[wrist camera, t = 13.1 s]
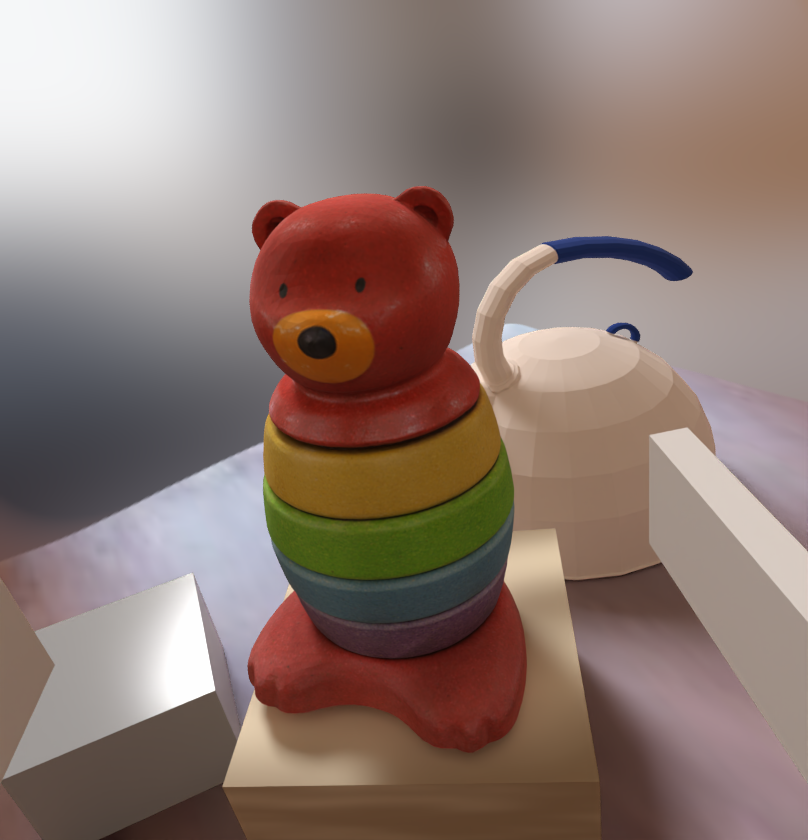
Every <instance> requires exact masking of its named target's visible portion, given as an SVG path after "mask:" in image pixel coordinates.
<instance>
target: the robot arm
mask: <svg viewBox="0 0 808 840" xmlns="http://www.w3.org/2000/svg"><path fill="white" fill-rule="evenodd" d="M649 544H650V545H651V547H652V548H653V550H654V551H655V553H656V554H657V556H658V557H659V559H660V560H661V562H662V563H663V565H664V567H665V568H666V570H667V571H668V573H669V574H670V576H671V577H672V579H673V580H674V582H675V583H676V585H677V586H678V588H679V589H680V591H681V592H682V594H683V595H684V597H685V598H686V600H687V601H688V603H689V604H690V606H691V607H692V609H693V611H694V612H695V614H696V615H697V617H698V618H699V620H700V621H701V623H702V624H703V626H704V627H705V629H706V630H707V632H708V633H709V635H710V636H711V638H712V639H713V641H714V642H715V644H716V645H717V647H718V648H719V650H720V652H721V653H722V655H723V656H724V658H725V659H726V661H727V662H728V664H729V665H730V667H731V668H732V670H733V671H734V673H735V674H736V676H737V677H738V679H739V680H740V682H741V683H742V685H743V686H744V688H745V689H746V691H747V692H748V694H749V696H750V697H751V699H752V700H753V702H754V703H755V705H756V706H757V708H758V709H759V711H760V712H761V714H762V715H763V717H764V718H765V720H766V721H767V723H768V724H769V726H770V727H771V729H772V730H773V732H774V733H775V735H776V736H777V738H778V740H779V741H780V743H781V744H782V746H783V747H784V749H785V750H786V752H787V753H788V755H789V756H790V758H791V759H792V761H793V762H794V764H795V765H796V767H797V768H798V770H799V771H800V773H801V774H802V776H803V777H804V779H805V780H806V782H807V784H808V551H807V550H806V549H805V548H804V547H803V546H802V545H801V544H800V543H799V542H798V541H797V540H796V539H795V538H794V537H793V536H792V535H791V534H790V533H789V532H788V531H787V529H786V528H785V527H784V526H783V525H782V524H781V523H780V522H779V521H778V520H777V519H776V518H775V517H774V516H773V515H772V514H771V513H770V512H769V511H768V510H767V509H766V508H765V507H764V506H763V505H762V504H761V503H760V502H759V501H758V500H757V499H756V498H755V497H754V495H753V494H752V493H751V492H750V491H749V490H748V489H747V488H746V487H745V486H744V485H743V484H742V483H741V482H740V481H739V480H738V479H737V478H736V477H735V476H734V475H733V474H732V473H731V472H730V471H729V470H728V469H727V468H726V467H725V466H724V465H723V464H722V463H721V461H720V460H719V459H718V458H717V457H716V456H715V455H714V454H713V453H712V452H711V451H710V450H709V449H708V448H707V447H706V446H705V445H704V444H703V443H702V442H701V441H700V440H699V439H698V438H697V437H696V436H695V435H694V434H693V433H692V432H691V431H690V430H689V429H688V428H682V429H677V430H672V431H667V432H662V433H657V434H652V435H649ZM54 666H55V664H54V663H53V661H52V659H51V658H50V656H49V655H48V653H47V651H46V650H45V648H44V647H43V645H42V643H41V642H40V640H39V639H38V637H37V635H36V634H35V632H34V631H33V629H32V627H31V626H30V624H29V623H28V621H27V619H26V618H25V616H24V614H23V613H22V611H21V610H20V608H19V606H18V605H17V603H16V602H15V600H14V598H13V597H12V595H11V594H10V592H9V590H8V589H7V587H6V586H5V584H4V582H3V581H2V579H1V578H0V784H1V782H2V780H3V777H4V775H5V773H6V771H7V769H8V766H9V764H10V762H11V760H12V758H13V755H14V753H15V751H16V749H17V747H18V744H19V742H20V740H21V738H22V736H23V734H24V731H25V729H26V727H27V725H28V723H29V720H30V718H31V716H32V714H33V712H34V709H35V707H36V705H37V703H38V701H39V698H40V696H41V694H42V692H43V690H44V687H45V685H46V683H47V681H48V679H49V677H50V674H51V672H52V670H53V668H54Z"/></svg>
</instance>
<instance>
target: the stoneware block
mask: <svg viewBox="0 0 808 840" xmlns="http://www.w3.org/2000/svg"><path fill="white" fill-rule="evenodd" d="M35 634H36V635H37V637H38V639H39V640H40V642H41V643H42V645H43V647H44V648H45V650H46V651H47V653H48V655H49V656H50V658H51V659H52V661H53V663H54V664H55V666H54V668H53V670H52V672H51V674H50V677H49V679H48V681H47V683H46V685H45V687H44V690H43V692H42V694H41V696H40V698H39V701H38V703H37V705H36V707H35V709H34V712H33V714H32V716H31V718H30V720H29V723H28V725H27V727H26V729H25V731H24V734H23V736H22V738H21V740H20V742H19V744H18V747H17V749H16V751H15V753H14V755H13V758H12V760H11V762H10V764H9V766H8V769H7V771H6V773H5V775H4V777H3V780H2V782H1V783H2V785H3V786H4V788H5V789H6V790H7V792H8V793H9V794H10V796H11V797H12V799H13V800H14V801H15V803H16V804H17V805H18V807H19V808H20V809H21V811H22V812H23V814H24V815H25V816H26V818H27V819H28V820H29V822H30V823H31V825H32V826H33V827H34V829H35V830H36V831H37V833H38V834H39V835H40V837H41V838H42V840H99V839H101V838H103V837H106V836H108V835H110V834H112V833H114V832H117V831H119V830H121V829H123V828H125V827H127V826H130V825H132V824H134V823H136V822H138V821H141V820H143V819H145V818H147V817H149V816H151V815H154V814H156V813H158V812H160V811H162V810H165V809H167V808H169V807H171V806H173V805H175V804H178V803H180V802H182V801H184V800H186V799H189V798H191V797H193V796H195V795H197V794H199V793H202V792H204V791H206V790H208V789H210V788H213V787H215V786H217V785H219V784H221V783H223V782H224V780H225V777H226V774H227V771H228V768H229V765H230V762H231V759H232V756H233V753H234V750H235V747H236V744H237V741H238V738H239V735H240V732H241V727H240V723H239V718H238V714H237V709H236V704H235V700H234V695H233V691H232V686H231V681H230V677H229V672H228V668H227V663H226V659H225V654H224V649H223V645H222V643H221V640H220V638H219V635H218V633H217V630H216V628H215V626H214V623H213V621H212V618H211V616H210V613H209V611H208V608H207V606H206V603H205V601H204V598H203V596H202V593H201V591H200V589H199V586H198V584H197V581H196V579H195V576H194V574H193V573H191V574H188V575H185V576H183V577H180V578H177V579H175V580H172V581H169V582H167V583H164V584H161V585H158V586H156V587H153V588H150V589H148V590H145V591H142V592H140V593H137V594H134V595H132V596H129V597H126V598H123V599H121V600H118V601H115V602H113V603H110V604H107V605H105V606H102V607H99V608H97V609H94V610H91V611H88V612H86V613H83V614H80V615H78V616H75V617H72V618H70V619H67V620H64V621H61V622H59V623H56V624H53V625H51V626H48V627H45V628H43V629H40V630H37V631H35Z"/></svg>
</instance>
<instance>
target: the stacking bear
mask: <svg viewBox="0 0 808 840" xmlns="http://www.w3.org/2000/svg"><path fill="white" fill-rule="evenodd" d="M453 221H454V217H453V213H452V210H451V206H450V204H449V203H448V201H447V199H446V198H445V197H444V196H443V195H442V194H441V193H440V192H438V191H436V190H435V189H433V188H430V187H427V186H418V187H412V188H409V189H407V190H405V191H404V192H403V193H401V194H400V195H399V196H398V197H396V198H394V197H391V196H386V195H380V194H351V195H345V196H338V197H333V198H328V199H325V200H322V201H318V202H315V203H312V204H309V205H307V206H304V207H299V206H297V205H295V204H293V203H291V202H288V201H284V200H275V201H270V202H268V203H266V204H265V205H263V206H262V207H261V209H260V210H259V211H258V213H257V214H256V216H255V218H254V220H253V224H252V233H253V237H254V240H255V242H256V244H257V245H258V247H259V249H260V253H259V255H258V258H257V259H256V262H255V266H254V270H253V273H252V278H251V284H250V311H251V318H252V323H253V326H254V329H255V332H256V334H257V336H258V338H259V340H260V342H261V344H262V345H263V347H264V349H265V350H266V352H267V353H268V354H269V356H270V357H271V359H272V360H273V361H274V362H275V363H276V365H277V366H278V367H279V368H280V369H281V370H282V371H283V372H284V373H285V375H284V377H283V378H282V379H281V380H280V382H279V383H278V385H277V387H276V389H275V391H274V393H273V395H272V398H271V400H270V405H269V414H268V416H267V419H266V423H265V430H264V453H263V459H264V473H265V475H264V479H263V495H264V506H265V515H266V522H267V528H268V531H269V534H270V537H271V541H272V545H273V549H274V551H275V554H276V556H277V558H278V561H279V563H280V565H281V568H282V570H283V572H284V574H285V576H286V578H287V580H288V582H289V584H290V585H291V587H292V589H293V590H294V591H293V592H292V593H291V594H290V595H289V596H288V597H287V598H286V599H285V601H284V602H283V603H282V604H281V605H280V606H279V608H278V609H277V610H276V611H275V613H274V614H273V615H272V617H271V618H270V619H269V621H268V622H267V624H266V625H265V627H264V628H263V630H262V631H261V633H260V635H259V637H258V638H257V640H256V642H255V644H254V646H253V648H252V650H251V653H250V657H249V660H248V675H249V679H250V682H251V683H252V685H253V686H254V687H255V695H256V698H257V699H258V701H260V702H261V703H262V704H264V705H267V706H271V707H276V708H278V709H279V710H280V711H282V712H285V713H293V714H297V713H306V712H310V711H314V710H318V709H322V708H326V707H331V706H338V705H361V706H367V707H372V708H375V709H379V710H382V711H385V712H387V713H390V714H392V715H394V716H396V717H398V718H399V719H400V720H402V721H403V722H404V723H405V724H406V725H408V726H409V727H410V728H411V729H412V730H413V731H414V732H415V733H416V734H417V735H418V736H419V737H420V738H421V739H422V740H423V741H425V742H427V743H428V744H430V745H432V746H434V747H438V748H449V749H458V750H460V751H463V752H467V753H473V752H475V751H477V750H479V749H481V748H483V747H484V746H485V745H487V744H488V743H490V742H494V741H497V740H499V739H501V738H503V737H504V736H505V735H506V734H507V733H508V732H509V731H510V730H511V729H512V727H513V726H514V724H515V722H516V720H517V717H518V714H519V711H520V707H521V704H522V701H523V696H524V690H525V685H526V673H527V654H526V644H525V636H524V630H523V625H522V621H521V617H520V614H519V611H518V608H517V606H516V603H515V601H514V598H513V596H512V594H511V592H510V590H509V588H508V587H507V585H506V583H505V582H504V577H505V572H506V567H507V561H508V554H509V551H510V546H511V540H512V532H513V523H514V484H513V478H512V472H511V467H510V463H509V459H508V455H507V451H506V448H505V444H504V442H503V440H502V438H501V436H500V431H499V427H498V423H497V420H496V417H495V414H494V411H493V408H492V405H491V403H490V400H489V398H488V395H487V393H486V391H485V389H484V388H483V386H482V385H481V383H480V380H479V378H478V376H477V374H476V372H475V371H474V369H473V368H472V367H471V366H470V365H469V364H468V363H467V361H466V360H464V359H463V358H462V357H461V356H460V355H459V354H458V353H456V352H455V351H453V350H451V349H450V348H447V347H448V345H449V343H450V340H451V337H452V334H453V330H454V326H455V322H456V318H457V313H458V307H459V276H458V267H457V263H456V259H455V256H454V253H453V251H452V248H451V246H450V245H449V242H448V240H449V236H450V233H451V231H452V228H453V223H454V222H453Z"/></svg>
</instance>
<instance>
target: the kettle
mask: <svg viewBox="0 0 808 840" xmlns="http://www.w3.org/2000/svg"><path fill="white" fill-rule="evenodd" d="M582 258H615V259H623V260H628V261H632V262H635V263H639V264H642V265H645V266H648V267H649V268H651V269H653V270H655V271H657V272H658V273H659V274H661V275H662V276H663V277H664V278H665V279H667V280H670V281H679V280H683V279H686V278H688V277H689V276H691V274H692V273H693V271H692V269H691V268H690V267H689V266H687V264H686V263H684V262H683V261H682V260H681V259H680V258H678V257H677V256H674V255H673V254H671V253H669V252H667V251H665V250H663V249H662V248H660V247H657V246H654V245H651V244H647V243H644V242H641V241H638V240H632V239H624V238H617V237H608V236H602V237H573V238H568V239H562V240H557V241H551V242H545V243H542V244H540V245H539V246H538V247H535V248H534V249H532V250H530V251H528V252H526V253H524V254H522V255H520V256H518V257H516V258H515V259H513V260H511V261H510V262H509V263H508V265H507V266H506V267H505V268H504V269H503V270H502V271H501V272H500V273H499V274H498V276H497V277H496V278H495V279H494V280H493V281H492V282H491V283H490V285H489V287H488V289H487V291H486V293H485V295H484V298H483V300H482V302H481V303H480V305H479V307H478V310H477V314H476V320H475V325H474V330H473V335H472V340H473V349H474V357H475V362H474V363H473V364H472V365H470V366H471V367H472V368H473V369H474V371H475V372H476V374H477V376H478V378H479V380H480V383H481V385H482V386H483V388H484V389H485V391H486V393H487V395H488V398H489V400H490V403H491V405H492V408H493V411H494V414H495V417H496V420H497V423H498V427H499V431H500V436H501V438H502V440H503V442H504V444H505V448H506V451H507V455H508V459H509V463H510V467H511V472H512V478H513V484H514V523H513V531H524V530H539V529H553V528H555V530H556V535H557V541H558V547H559V552H560V558H561V564H562V569H563V575H564V579H566V580H584V579H593V578H602V577H611V576H620V575H624V574H627V573H630V572H633V571H636V570H639V569H643V568H646V567H649V566H652V565H655V564H658V563H661V560H660V559H659V557H658V556H657V554H656V553H655V551H654V550H653V548H652V547H651V545H650V544H649V435H652V434H657V433H662V432H667V431H672V430H677V429H682V428H688V429H689V430H690V431H691V432H692V433H693V434H694V435H695V436H696V437H697V438H698V439H699V440H700V441H701V442H702V443H703V444H704V445H705V446H706V447H707V448H708V449H709V450H710V451H711V452H712V453H713V454H714V455H715V456H716V453H715V443H714V439H713V434H712V430H711V426H710V424H709V422H708V419H707V417H706V415H705V413H704V411H703V408H702V406H701V404H700V402H699V400H698V397H697V395H696V394H695V393H694V392H693V391H692V389H691V388H690V387H689V386H688V385H687V383H686V382H685V381H684V380H683V379H682V378H681V377H680V376H679V375H678V374H677V373H676V372H675V371H674V370H673V369H672V368H671V367H670V366H669V365H668V364H667V363H666V362H665V361H664V360H663V359H662V358H661V357H659V356H658V355H656V354H654V353H653V352H651V351H649V350H648V349H646V348H644V347H642V346H640V345H638V344H637V342H638V341H639V340H640V334H639V331H638V330H637V329H636V328H635V327H634V326H633V325H631V324H628V323H616V324H613V325H611V326H610V327H609V328H608V329H607V330H606V331H605V330H600V329H594V328H581V327H580V328H579V327H560V328H551V329H544V330H537V331H533V332H529V333H525V334H521V335H518V336H516V337H513V338H511V339H508V340H505V341H504V342H502V340H501V337H502V332H503V326H504V320H505V316H506V314H507V312H508V310H509V308H510V306H511V304H512V302H513V300H514V298H515V296H516V294H517V293H518V292H519V291H520V290H521V289H522V288H523V287H524V286H525V285H526V283H527V282H528V281H529V280H530V279H531V278H532V277H533V276H534V275H535V274H537V273H538V272H540V271H542V270H544V269H545V268H547V267H549V266H550V265H552V264H557V263H562V262H567V261H572V260H576V259H582ZM621 329H628V330H629V331H630V333H631V337H630V339H631V340H629V339H628V338H626V337H624V336H622V335H619V334H616V332H617V331H619V330H621Z"/></svg>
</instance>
